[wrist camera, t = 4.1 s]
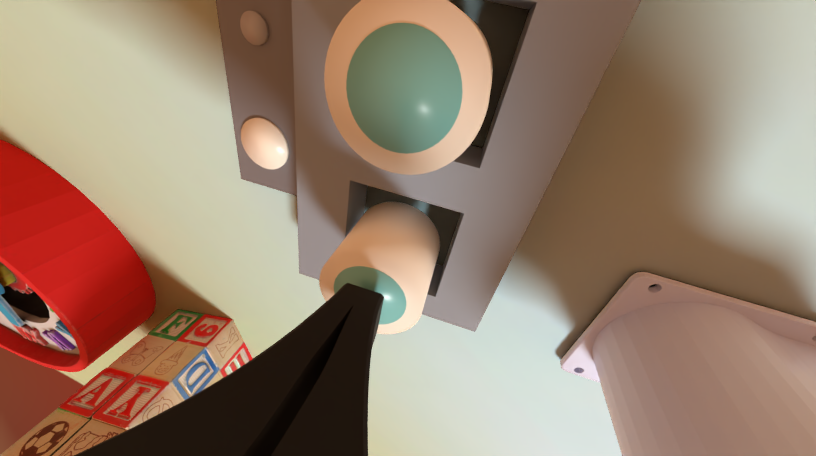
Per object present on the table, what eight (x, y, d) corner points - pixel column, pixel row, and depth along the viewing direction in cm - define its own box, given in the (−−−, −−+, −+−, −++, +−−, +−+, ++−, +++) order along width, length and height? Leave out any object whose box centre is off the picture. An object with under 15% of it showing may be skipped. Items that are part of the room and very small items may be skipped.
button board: (866, -544, 5) (1099, -914, 3) (477, 297, 18) (474, 331, 16) (342, -552, 6) (268, -834, 4) (321, 247, 19) (299, 273, 17)
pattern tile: (293, -271, 8) (282, -290, 8) (301, 193, 17) (296, 197, 16) (185, -285, 9) (168, -302, 8) (246, 176, 17) (239, 179, 17)
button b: (512, 20, 9) (520, 8, 6) (471, 149, 11) (460, 192, 8) (384, -8, 9) (325, -33, 6) (370, 122, 12) (321, 153, 8)
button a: (450, 216, 13) (434, 274, 10) (429, 282, 15) (411, 347, 12) (362, 190, 13) (319, 238, 10) (354, 258, 15) (317, 315, 12)
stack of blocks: (295, 438, 37) (218, 589, 27) (252, 426, 38) (164, 564, 28) (233, 316, 26) (62, 495, 16) (176, 306, 27) (-14, 462, 17)
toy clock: (-9, 212, 16) (123, 399, 27) (111, 172, 20) (180, 344, 32) (-286, 113, 18) (-55, 325, 29) (-117, 97, 22) (24, 285, 34)
